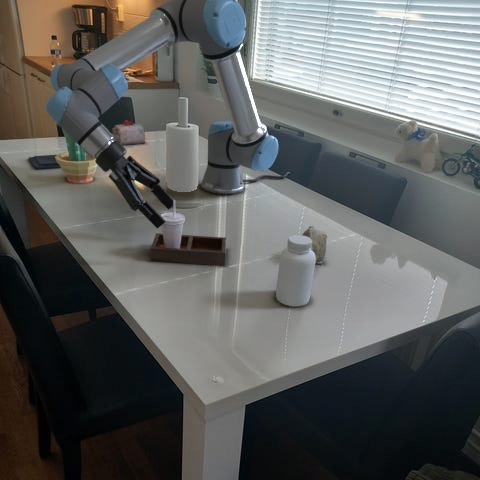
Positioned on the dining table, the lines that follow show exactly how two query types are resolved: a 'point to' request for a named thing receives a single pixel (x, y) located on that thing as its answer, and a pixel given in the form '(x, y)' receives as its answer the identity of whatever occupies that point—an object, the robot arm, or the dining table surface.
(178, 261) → the tray
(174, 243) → the smoothie
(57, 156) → the potted cactus
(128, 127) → the food item
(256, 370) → the dining table surface
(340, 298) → the dining table surface
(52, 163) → the wallet
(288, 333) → the dining table surface
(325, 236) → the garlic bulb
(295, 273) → the pill bottle
